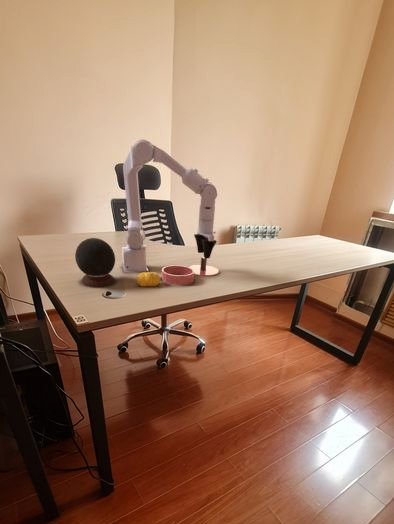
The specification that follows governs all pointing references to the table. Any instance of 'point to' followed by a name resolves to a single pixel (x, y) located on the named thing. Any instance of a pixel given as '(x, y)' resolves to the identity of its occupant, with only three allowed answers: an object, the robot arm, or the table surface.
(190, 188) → the robot arm
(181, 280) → the pot
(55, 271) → the table surface
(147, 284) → the yellow rounded oblong piece
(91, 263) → the dark ball on stand
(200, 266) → the lid
